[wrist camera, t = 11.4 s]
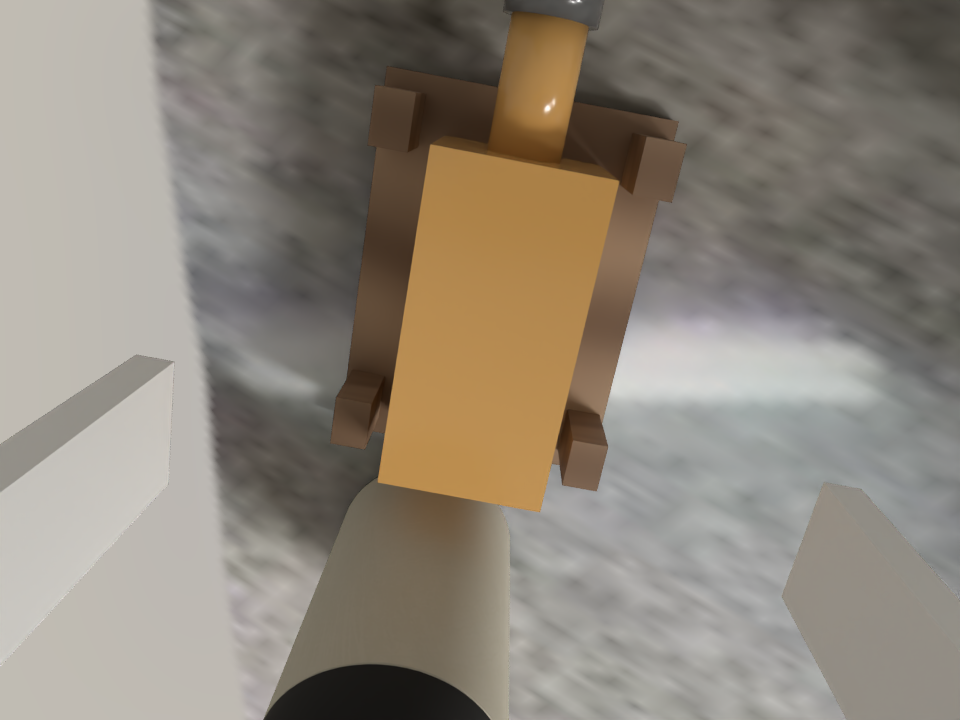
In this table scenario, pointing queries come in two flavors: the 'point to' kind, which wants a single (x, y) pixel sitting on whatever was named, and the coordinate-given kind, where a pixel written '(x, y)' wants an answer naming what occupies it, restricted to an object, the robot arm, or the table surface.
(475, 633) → the travel mug
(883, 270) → the table surface
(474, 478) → the amber bottle
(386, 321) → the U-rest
